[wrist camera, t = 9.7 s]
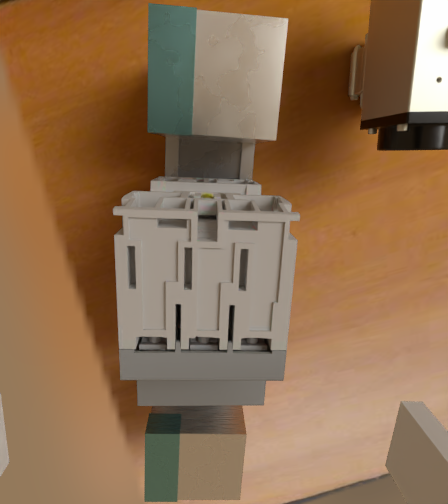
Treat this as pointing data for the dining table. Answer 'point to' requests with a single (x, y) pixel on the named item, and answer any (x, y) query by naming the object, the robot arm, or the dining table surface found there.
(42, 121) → the dining table surface
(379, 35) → the pneumatic valve
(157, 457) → the rail with modules
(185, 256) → the circuit breaker
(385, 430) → the dining table surface
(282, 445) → the dining table surface
